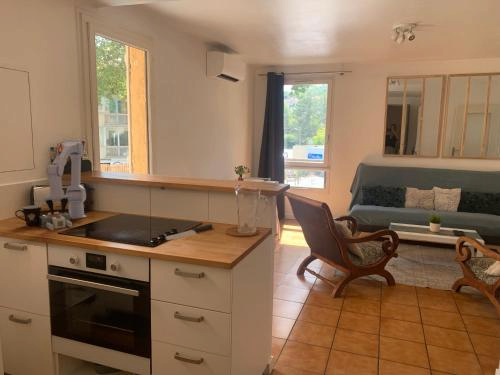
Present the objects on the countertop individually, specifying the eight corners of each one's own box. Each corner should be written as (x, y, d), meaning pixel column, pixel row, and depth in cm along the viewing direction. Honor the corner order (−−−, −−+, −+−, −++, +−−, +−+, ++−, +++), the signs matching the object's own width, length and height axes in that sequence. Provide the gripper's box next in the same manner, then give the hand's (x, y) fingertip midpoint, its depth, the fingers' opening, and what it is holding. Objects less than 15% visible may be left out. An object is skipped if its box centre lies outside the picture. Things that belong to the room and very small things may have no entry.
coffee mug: (46, 223, 208) (44, 205, 206) (35, 227, 199) (34, 208, 198) (26, 222, 209) (24, 205, 208) (15, 226, 201) (13, 208, 199)
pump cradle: (45, 227, 200) (44, 222, 200) (67, 223, 207) (67, 219, 207) (50, 230, 193) (49, 225, 193) (73, 226, 201) (73, 222, 201)
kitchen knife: (169, 239, 176) (163, 235, 179) (168, 244, 177) (162, 239, 180) (216, 226, 197) (210, 222, 200) (215, 231, 198) (209, 227, 201)
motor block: (39, 225, 203) (38, 214, 202) (66, 221, 213) (66, 210, 212) (42, 227, 199) (41, 216, 198) (70, 223, 208) (69, 212, 207)
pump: (52, 226, 201) (51, 215, 200) (62, 225, 204) (62, 214, 204) (55, 229, 197) (54, 217, 196) (66, 227, 200) (65, 216, 199)
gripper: (42, 190, 190) (44, 216, 192) (73, 187, 200) (74, 212, 202) (38, 188, 195) (41, 214, 197) (68, 185, 205) (70, 210, 207)
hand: (57, 213), depth 200 cm, fingers open, 5 cm apart
